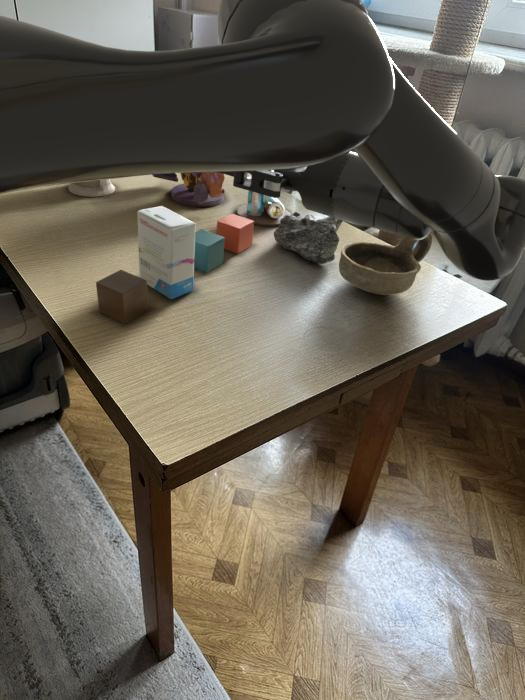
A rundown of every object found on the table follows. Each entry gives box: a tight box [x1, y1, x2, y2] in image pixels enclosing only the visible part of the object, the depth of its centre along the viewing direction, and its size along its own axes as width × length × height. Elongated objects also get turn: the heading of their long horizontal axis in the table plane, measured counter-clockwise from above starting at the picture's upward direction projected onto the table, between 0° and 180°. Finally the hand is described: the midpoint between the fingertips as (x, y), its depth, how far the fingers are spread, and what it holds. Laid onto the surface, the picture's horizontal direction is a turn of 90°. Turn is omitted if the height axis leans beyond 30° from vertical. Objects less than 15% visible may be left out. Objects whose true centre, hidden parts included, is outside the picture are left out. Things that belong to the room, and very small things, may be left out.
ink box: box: [137, 205, 196, 300], centre depth 78 cm, size 9×5×12 cm, turn 47°
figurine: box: [152, 172, 226, 208], centre depth 110 cm, size 20×14×17 cm
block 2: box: [194, 228, 225, 274], centre depth 88 cm, size 5×5×5 cm
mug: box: [68, 179, 116, 198], centre depth 107 cm, size 14×10×12 cm
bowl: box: [338, 232, 433, 296], centre depth 86 cm, size 14×18×10 cm
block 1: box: [95, 269, 149, 324], centre depth 73 cm, size 5×5×5 cm
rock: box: [273, 211, 344, 265], centre depth 97 cm, size 13×13×10 cm
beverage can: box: [236, 190, 292, 227], centre depth 108 cm, size 12×12×8 cm
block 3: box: [216, 213, 255, 255], centre depth 95 cm, size 5×5×5 cm
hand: (233, 154), depth 64 cm, fingers open, 8 cm apart
